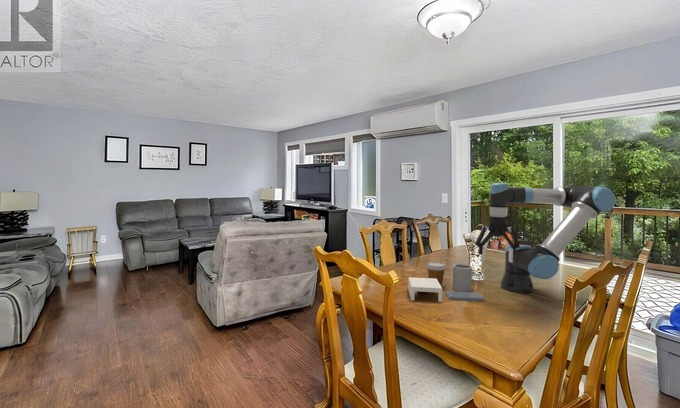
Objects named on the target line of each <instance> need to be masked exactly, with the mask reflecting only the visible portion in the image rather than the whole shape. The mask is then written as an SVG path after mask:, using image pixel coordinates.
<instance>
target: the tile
mask: <svg viewBox="0 0 680 408" xmlns="http://www.w3.org/2000/svg"><path fill="white" fill-rule="evenodd" d="M445 295H446V297H447V299H448V300H449V301H462V302H463V301H466V302H483V303H484V302H485V300H486V299H485V297H484V296H483V295H482V294H481V293H480V292H479V291H478V292H471V291H469V292H461V291H457V290H454V291H452V290H451V291H450V290H445Z"/></svg>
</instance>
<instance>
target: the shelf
mask: <svg viewBox="0 0 680 408" xmlns="http://www.w3.org/2000/svg"><path fill="white" fill-rule="evenodd" d="M407 283H408V284H407V286H408V287H407V289H408V295H409V298H410V301H412V302H413V301H415V298H414V295H415V291H417V292H423V293H425V292H426V293H437V302H438V303H442V302H443V287H441V285H440V284H439V282H438V280H437V279H436V278H429V277H411V276H409V277H408V281H407Z"/></svg>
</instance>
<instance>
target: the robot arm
mask: <svg viewBox="0 0 680 408" xmlns="http://www.w3.org/2000/svg"><path fill="white" fill-rule="evenodd" d="M530 203H531V204H533V203H534V204H553V205H554V206H558V207H559V206H560V207H567V208H570V209H571V210H570V211H569V212H568V213H567V214H566V215H565V217H564V218H563V219H562V220H561V221H560V222H559V223H558V225H557V226H555V228H554V229H553V230H552V231H551V232H550V234H549V235H548V236H547V237H546V239H544V241H543V242H542V243H541V244H536V245H534V246H533V247H532V245H527V244H520V242H519V240H518V238H517V235H516V233H515V228H514V226H509V227H508V225H507V224H508V217H507V216H508V206H509V204H530ZM615 204H616V196H615V193H614V192H613V191H612V190H611V188H609V187H608V186H607V187H606V186H599V185H597V186H590V185H589V186H585V185H583V186H582V185H578V186H577V185H575V186H564V187H562V186H561V187H560V186H559V187H555V188H539V187H538V188H537V187H536V188H535V187H525V186H523V187H521V186H520V187H519V186H518V187H516V186H515V187H514V186H509V183H506V182H505V183H504V182H503V183H502V182H495V183H494V182H493V183H491V185H490V190H489V218H488V219H489V220H488V226H484V225H482V226H481V228H480V229H481V230H480V233H479V235H478V237H477V239H476V241H475V243H474V245H475V246H476V247H478V254H479V255H480V261H481V262H483V263H484V262H485V247H484V246H485V245H486V244H487V243H488V242H489V241H490V239H491V238H493V236H494V237H497V236H498V237H503V238H504V240H505V241H506V243H508V245H506V247H505V261H504V262H505V263H504V274H503V275H502V278H501V281H500V287H501V289H504V290H506V291H508V292H513V293H518V294H519V293H520V294H529V293H533V292H534V283H533V280H532V278H531V277H534V278H537V279H541V280H548V279H551V278H553V277H554V276H555V275H557V273H558V272H559V269H560V268H559V267H560V263H559V262H560V260H561V258H560V255H561V254H562V252H563V251H564V250H566V248H567V247H568V246H569V245H570V243H571V242H572V241H573V240H574V238H576V236H577V235H578V234H579V233H580V232H581V231H582V229H583V228H584V227H585V226H586V225H587V224H588V222H589V221H590V220H591V219H597V218H598V217H599V215H600V214H601V213H602V212H603V213H607V212H610V211H612V210H613V208H614V206H615ZM487 231H489V232H488V233H487V235H486V236H485V234H486V232H487ZM507 231H508V232H509V234H510V237H509V236H508V234H507V233H506V232H507ZM484 236H485V237H484ZM510 238H511V239H512V240H511V239H510Z"/></svg>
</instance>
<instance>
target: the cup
mask: <svg viewBox="0 0 680 408" xmlns="http://www.w3.org/2000/svg"><path fill="white" fill-rule="evenodd" d="M472 277H473V266H472V265H469V264H464V263H463V264H462V263H456V264H453V266H452V289H453V290H454V291H456V292H471V291H472V282H473V280H472V279H473V278H472Z"/></svg>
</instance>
